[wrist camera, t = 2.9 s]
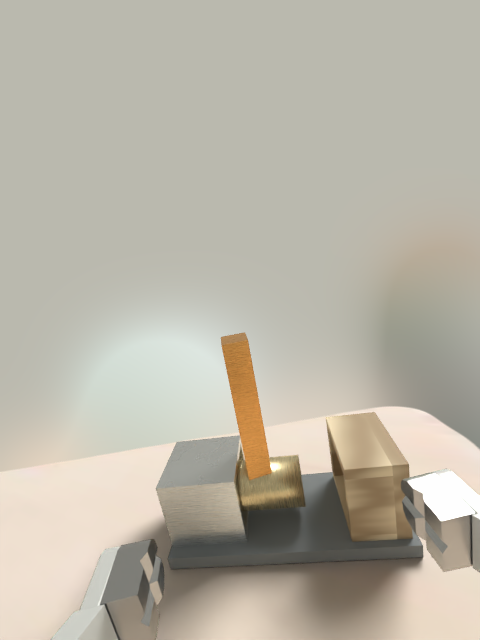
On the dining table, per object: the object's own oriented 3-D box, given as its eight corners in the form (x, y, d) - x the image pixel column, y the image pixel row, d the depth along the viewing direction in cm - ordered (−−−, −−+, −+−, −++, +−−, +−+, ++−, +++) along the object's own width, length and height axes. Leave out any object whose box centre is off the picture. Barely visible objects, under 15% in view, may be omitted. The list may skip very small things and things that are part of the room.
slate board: (170, 569, 22) (167, 558, 22) (193, 492, 29) (191, 484, 28) (423, 557, 20) (422, 545, 19) (382, 477, 26) (382, 467, 26)
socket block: (352, 541, 20) (344, 469, 19) (333, 476, 26) (325, 417, 25) (412, 538, 20) (408, 464, 19) (379, 472, 26) (374, 412, 24)
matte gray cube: (172, 546, 22) (155, 488, 21) (189, 491, 28) (176, 442, 26) (246, 542, 22) (233, 482, 21) (250, 486, 27) (240, 435, 26)
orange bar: (180, 527, 23) (133, 360, 20) (191, 490, 26) (153, 343, 23) (307, 518, 22) (280, 340, 19) (302, 481, 25) (277, 325, 22)
